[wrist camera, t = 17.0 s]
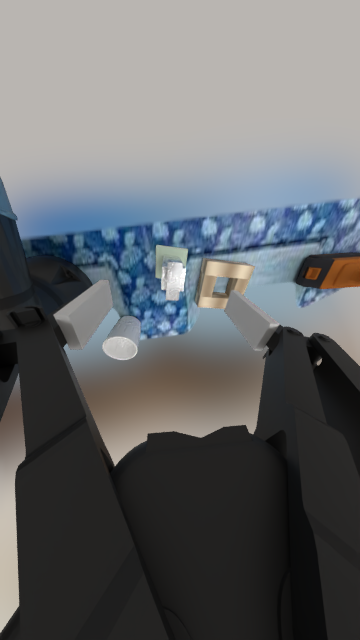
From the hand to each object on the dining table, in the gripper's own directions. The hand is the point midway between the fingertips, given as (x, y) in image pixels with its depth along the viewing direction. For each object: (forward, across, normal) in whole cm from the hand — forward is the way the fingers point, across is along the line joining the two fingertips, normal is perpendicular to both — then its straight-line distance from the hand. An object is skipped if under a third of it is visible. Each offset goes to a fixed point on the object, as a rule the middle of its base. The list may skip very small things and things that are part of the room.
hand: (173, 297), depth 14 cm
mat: (+20, +1, 0) cm, 20 cm away
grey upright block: (+19, +1, 0) cm, 19 cm away
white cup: (+20, -10, -19) cm, 29 cm away
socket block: (+20, +14, -4) cm, 24 cm away
